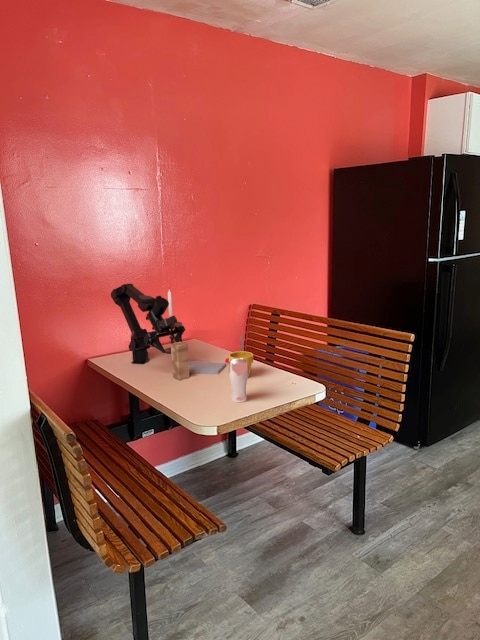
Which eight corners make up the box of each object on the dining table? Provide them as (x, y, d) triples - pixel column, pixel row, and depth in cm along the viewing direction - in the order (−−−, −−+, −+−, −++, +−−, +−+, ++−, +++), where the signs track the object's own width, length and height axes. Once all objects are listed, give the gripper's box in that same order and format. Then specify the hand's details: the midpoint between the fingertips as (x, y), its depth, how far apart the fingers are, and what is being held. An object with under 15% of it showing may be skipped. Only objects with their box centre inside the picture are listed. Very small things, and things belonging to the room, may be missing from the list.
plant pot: (258, 377, 201) (257, 355, 199) (236, 382, 196) (236, 359, 194) (246, 371, 210) (245, 349, 208) (225, 375, 205) (224, 353, 203)
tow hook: (224, 364, 222) (244, 363, 221) (222, 337, 219) (242, 336, 219) (226, 359, 230) (245, 358, 229) (223, 333, 227) (243, 332, 227)
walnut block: (172, 377, 204) (170, 343, 201) (182, 375, 207) (180, 341, 204) (179, 380, 201) (177, 346, 197) (189, 377, 204) (187, 343, 201)
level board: (179, 371, 212) (178, 369, 212) (189, 363, 223) (189, 361, 223) (217, 374, 207) (217, 371, 207) (225, 365, 219) (225, 363, 218)
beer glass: (229, 396, 181) (228, 358, 178) (247, 395, 182) (246, 357, 179) (230, 403, 175) (229, 364, 171) (249, 402, 175) (248, 363, 172)
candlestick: (186, 348, 248) (182, 281, 241) (179, 354, 238) (175, 284, 231) (166, 348, 251) (162, 281, 243) (158, 353, 241) (154, 284, 233)
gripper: (145, 313, 199) (161, 344, 193) (181, 307, 211) (198, 335, 206) (136, 329, 206) (152, 359, 201) (172, 322, 219) (188, 349, 213)
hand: (173, 350), depth 205 cm, fingers open, 9 cm apart
